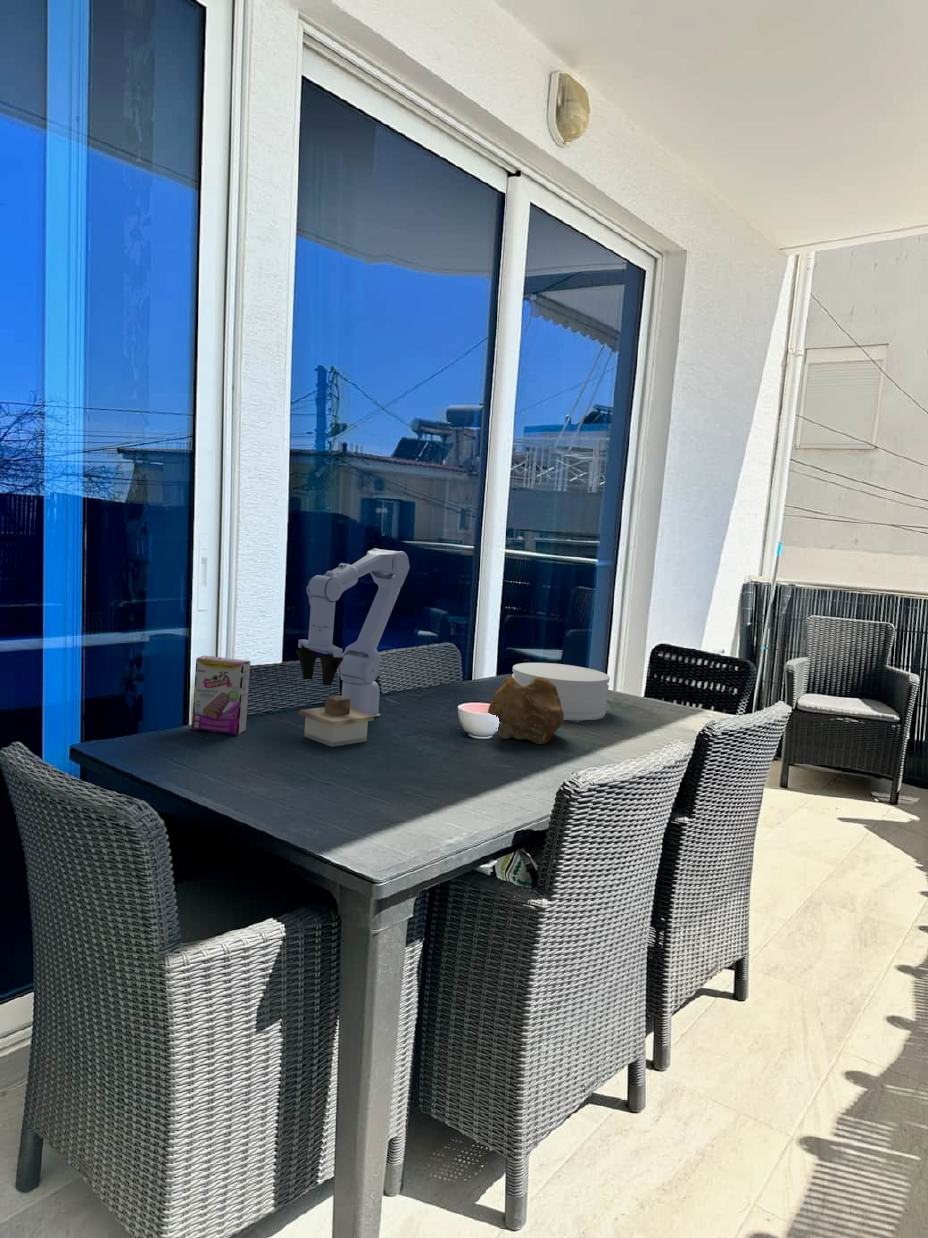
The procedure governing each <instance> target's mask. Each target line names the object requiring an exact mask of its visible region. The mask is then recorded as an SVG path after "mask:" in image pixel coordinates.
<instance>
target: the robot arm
mask: <svg viewBox="0 0 928 1238" xmlns="http://www.w3.org/2000/svg"><path fill="white" fill-rule="evenodd" d="M409 570H410V561H409V557H408V555H407V553H406V552H405V551H403V550H400V551H398V550H397V551H396V550H388V549H379V548H378V547H377V548H376V547H375V548H372V549H370V550H368V551H367V552H366V555H364V556H362V558H360V559H358V560H357V561H356V562H355V561H354V563H352V564H350V563H345V562H341V563H339V564H338V567H335V568H334V569H332V570H327V571H326V573H324V574H323V575H321V574H316V575H315V576H313V577H312V578H310V579H309V580H308V581H309V582H308V585H307V586H306V593H307V596H308V603H309V606H310V610H309V611H310V612H309V613H310V614H309V627H308V639H298V644H297V647H298V648H299V649H298V650H297V649H296V650H295V654H296V656H297V658H298V660H299V663H300V667H301V673H302V678H303V680H312V679H313V676H314V671H315V664H316V660H317V657H318V655H319V653H321V654H325V655H319V660H320V664H321V672H322V676H321V677H322V686H332V684H333V681H334V679H335V676H336V672H337V673H338V675H339V677H340V680H342V685H341V686H342V687H341V696H342V697H346V698H349V699H351V701H350V708H351V709H354V710H357V711H360V712H363V713H366V714H369V715H372V716H374V718H375V717H381V714H380V713H379V707H380V696H381V695H380V694H381V693H380V691H381V690H380V686H379V684H378V683H377V681H376V679H377V678H378V676H379V674H380V667H381V666H380V665H381V663H382V659H383V658H382V657H381V654H380V653H379V651H378V649H377V648H378V645H379V643H380V641H381V639H382V636H383V633H384V631H385V629H386V626H387V624H388V621H389V619H390V617H391V614H392V611H393V609H394V606H395V604H396V601H397V599H398V597H399V594H400V591H401V588H402V587H403V585H404V582H405V581H406V578H407V576H408V573H409ZM369 573H370V575H371V578H372V580H373V582H374V583H375V584H376V585H377V586H378V589H377V592H376V594H375V597H374V598H373V601H372V604H371V607H370V608H369V611H368V613H367V616H366V618H365V621H364V622H363V625H362V627H361V630H360V632H359V635H358V638H356V639H357V640H356V641H354V642H353V643H350V644H349V645H348V646H345V649H344V652H343V648H341V647H338V646H336V645H334V644H333V642H334V641H333V637H334V628H335V627H334V626H335V615H336V614H335V612H336V603H337V602H336V601H339V599H340V598H341V596H342V594H343V593H344V592H345V591H346V590H349V589H351V588H352V587H353V586H355V585H356V584H357V583H358V581H359V578H361V577H363V576H365V575H367V574H369Z"/></svg>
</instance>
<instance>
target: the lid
mask: <svg viewBox="0 0 928 1238" xmlns="http://www.w3.org/2000/svg"><path fill="white" fill-rule="evenodd" d="M324 699H325V701H324V706H323V707H316V708H314V707H313V708H307V709H305V708H304V709H299V712H298V713H299V716H303V717H305V718H306V717H308V718H311V719H313V720H316V721H319V722H322V723H325V724H327V725H330V726H338V725H345V724H352V723H359V722H367V721H368V722H373V721H375V717H374V716H372V715H369V714H366V713H363V712H360V711H357V710H354V709H351V708H350V701H351V699H349V698H346V697H342V695H334V696H333V695H332V696H325V698H324Z"/></svg>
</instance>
